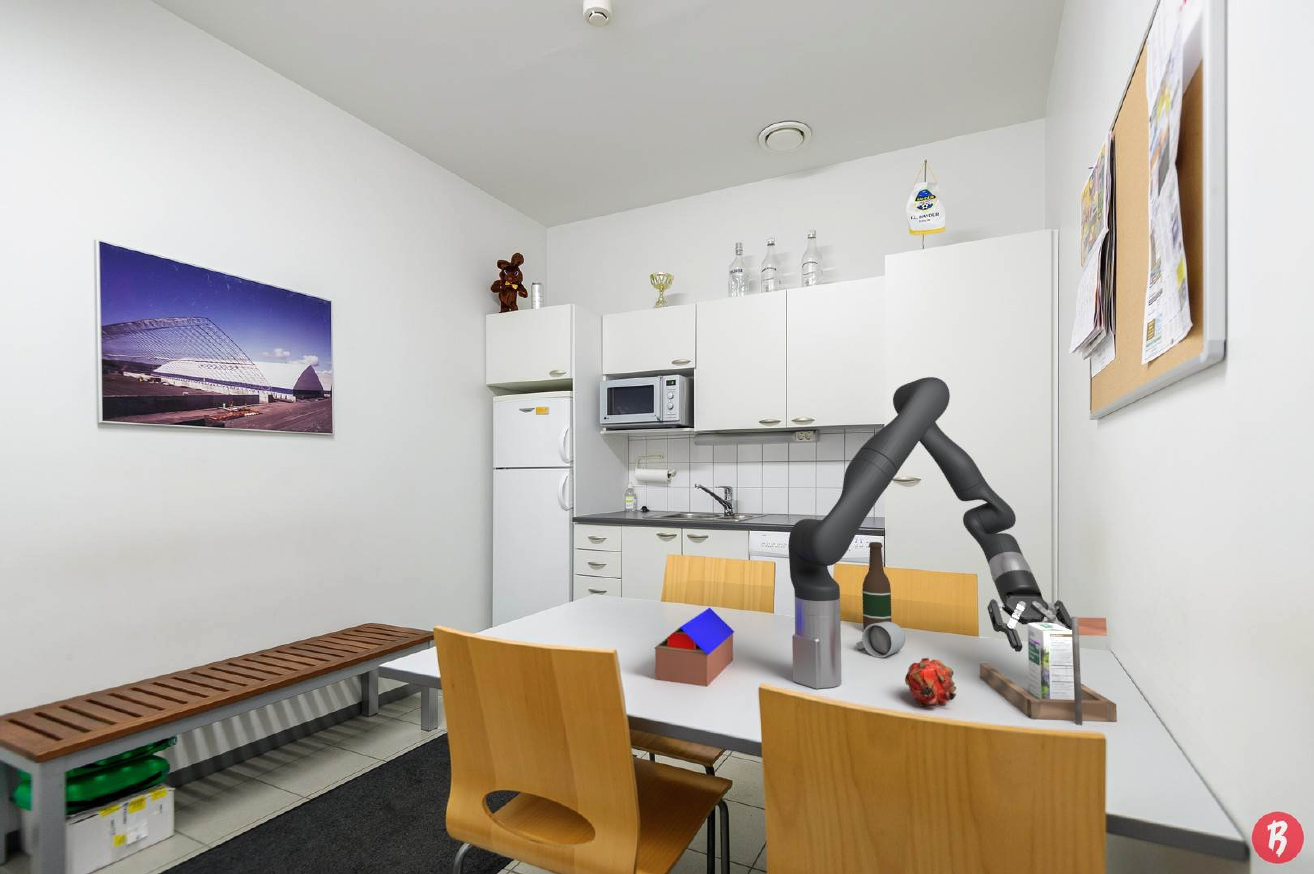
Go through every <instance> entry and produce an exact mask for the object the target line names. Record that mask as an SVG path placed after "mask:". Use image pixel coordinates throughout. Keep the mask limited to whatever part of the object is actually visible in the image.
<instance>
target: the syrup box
mask: <svg viewBox="0 0 1314 874" xmlns="http://www.w3.org/2000/svg"><path fill="white" fill-rule="evenodd" d="M1027 650H1028V651H1027V652H1028V653H1027V655H1028V659H1027V661H1028V663H1027V664H1028V666H1027V669H1028V693H1029V694H1030V695H1031V696H1033V697H1034V698H1036V699H1064V700H1074V674H1073V648H1072V630H1069V629H1066V628H1064V627H1061V626H1059V625H1057V624H1052V623H1028V624H1027Z"/></svg>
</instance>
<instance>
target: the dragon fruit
mask: <svg viewBox="0 0 1314 874" xmlns="http://www.w3.org/2000/svg"><path fill="white" fill-rule="evenodd" d="M953 675H954V670H952V668H951V667H949V666H946V665H944V663H943V661H941V660H940V659H932V660H930V658H928V657H922V658H921V660H920V661H919V662H913V663H911V664H910V666H909V667H908V671H907V673H906V674H905V677H904V682H905V684H906V685H907V686H908V688H909V691H910V693H911V695H912V696H914V698H915V701H916V702H917V704H918V705H919V706H921V707H924V708H925V706H926V707H929V706H930V705H934V706H937V705H938V704H939V705H941V706H944V705H946V704H947V703H948V702H950V701H953V700H954V699H955V698H956V696H957V693H956V690H957V686H955V682H954V680H953Z"/></svg>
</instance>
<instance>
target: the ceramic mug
mask: <svg viewBox="0 0 1314 874" xmlns="http://www.w3.org/2000/svg"><path fill="white" fill-rule="evenodd" d="M861 636H862V637H861V640H862V641H859V642H856V647H857V650H863V649H865V651H866V652H867V653H868V655H870V656H873V658H874V657H875V658H878V659H883V658H886V657H888V656H890V655H891V656H892V655H893V654H895V653H898V652H899V651H900V650H902V649H903V648H904V646H905V643H906V635H905V632H904V630H903V629H902V627H901V625H899V624H897V623H894V622H881V623H875V624H871V625H869V626H867V627H866V628H865V629H863V632H862V635H861Z"/></svg>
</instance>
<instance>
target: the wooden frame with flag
mask: <svg viewBox="0 0 1314 874" xmlns="http://www.w3.org/2000/svg"><path fill="white" fill-rule="evenodd" d="M1070 617H1071V622H1072V648H1073V674H1074V700H1064V699H1036V698H1034V697H1033V696H1031V695H1030V694H1029V692H1027V691H1026V690H1024V689H1023V688H1022V687H1020V686H1019V685H1018V684H1016V683H1015V682H1013V681H1012V680H1011V679H1009V678H1008V677H1007V676H1005V675H1003V674H1002V673H1001V672H1000V671H998V670H997V669H995V667H993V666H992V665H990V664H989V663H987V662H986V663H984V662H983V663H982V662H979V677H980V679H981V680H983V682H985V684H987V685H989V686H990V687H991V688H992V689H993V690H995V692H998V694H999V695H1001V696H1002V697H1003V698H1005V699H1006V700H1007V701H1009V702H1010V703H1011V704H1012V705H1014V706H1015V707H1016V708H1017V709H1019V710H1020V711H1021V712H1022V713H1023V714H1025V715H1026V716H1028V717H1029V718H1030V719H1031V720H1048V721H1049V720H1052V721H1053V720H1056V721H1075V725H1078V724H1080V725H1079V726H1082V725H1083V722H1084V721H1085V722H1086V721H1087V722H1111V723H1113V722H1114V723H1116V722H1118V717H1117V716H1118V713H1117V703H1116V702H1113V701H1111V700H1110V699H1108V698H1106V697H1105V696H1104V695H1101V694H1100V693H1098V692H1096V691H1095V690H1093V689H1091V688H1090V687H1088V686H1086V685H1085V684H1083V683H1082V682H1081V679H1082V678H1081V676H1082V675H1081V657H1080V653H1081V652H1080V651H1081V650H1080V636H1086V637H1087V636H1088V637H1089V636H1091V637H1093V636H1096V637H1097V636H1098V637H1099V636H1100V637H1107V636H1108V633H1107V617H1081V616H1080V617H1079V616H1070Z"/></svg>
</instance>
